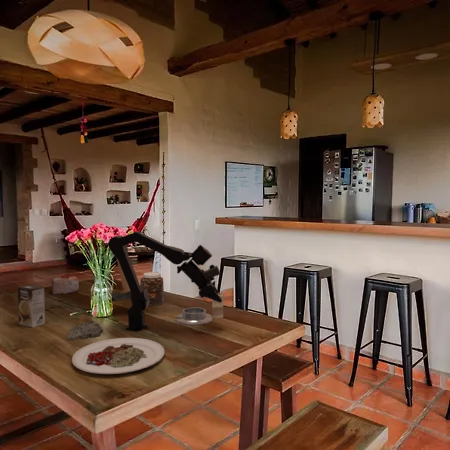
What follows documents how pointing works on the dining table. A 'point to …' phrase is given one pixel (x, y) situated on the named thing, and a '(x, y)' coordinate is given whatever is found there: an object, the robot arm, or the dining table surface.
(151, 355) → the plated food
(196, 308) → the steel rosette
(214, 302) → the wedge pin
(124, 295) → the hammer
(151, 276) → the jar
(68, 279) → the food item
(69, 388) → the dining table surface
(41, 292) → the coffee box
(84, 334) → the stone slab
